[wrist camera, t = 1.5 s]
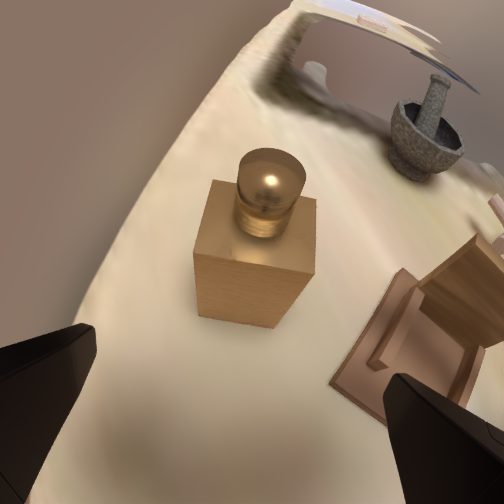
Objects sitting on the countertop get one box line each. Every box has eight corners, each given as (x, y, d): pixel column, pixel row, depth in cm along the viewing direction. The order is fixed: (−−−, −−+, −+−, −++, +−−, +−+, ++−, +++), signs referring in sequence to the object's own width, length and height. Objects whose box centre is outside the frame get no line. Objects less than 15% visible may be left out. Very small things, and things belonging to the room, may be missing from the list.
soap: (358, 24, 68) (361, 17, 66) (355, 20, 71) (358, 13, 68) (385, 34, 69) (388, 26, 66) (381, 29, 71) (384, 22, 69)
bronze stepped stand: (429, 454, 18) (523, 453, 9) (328, 383, 20) (410, 358, 11) (476, 344, 23) (553, 306, 14) (396, 273, 26) (465, 207, 17)
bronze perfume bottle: (273, 328, 22) (338, 239, 11) (198, 315, 22) (190, 211, 11) (279, 275, 24) (334, 159, 13) (210, 262, 24) (215, 135, 13)
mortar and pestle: (441, 204, 31) (497, 136, 21) (376, 174, 32) (425, 91, 21) (431, 149, 37) (470, 88, 27) (376, 123, 37) (409, 54, 27)
